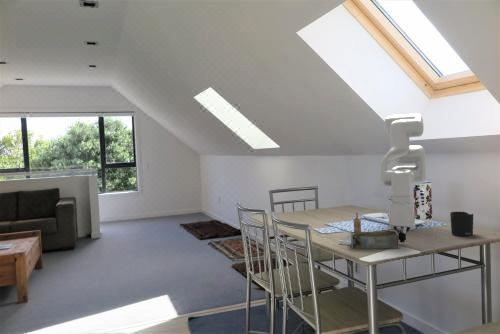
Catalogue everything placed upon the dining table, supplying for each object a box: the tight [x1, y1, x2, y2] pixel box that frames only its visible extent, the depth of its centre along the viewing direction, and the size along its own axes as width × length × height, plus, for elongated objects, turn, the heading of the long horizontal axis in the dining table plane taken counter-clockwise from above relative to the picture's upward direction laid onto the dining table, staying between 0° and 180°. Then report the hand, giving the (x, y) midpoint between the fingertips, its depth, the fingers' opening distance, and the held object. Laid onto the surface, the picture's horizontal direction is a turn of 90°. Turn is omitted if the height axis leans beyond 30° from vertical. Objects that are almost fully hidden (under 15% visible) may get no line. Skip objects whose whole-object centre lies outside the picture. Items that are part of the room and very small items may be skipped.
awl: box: [353, 211, 362, 232], centre depth 190 cm, size 3×3×11 cm
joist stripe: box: [337, 235, 352, 246], centre depth 176 cm, size 16×9×1 cm, turn 150°
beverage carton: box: [350, 230, 399, 250], centre depth 164 cm, size 8×19×7 cm, turn 80°
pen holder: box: [450, 211, 474, 237], centre depth 178 cm, size 9×9×10 cm
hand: (402, 241), depth 164 cm, fingers closed
